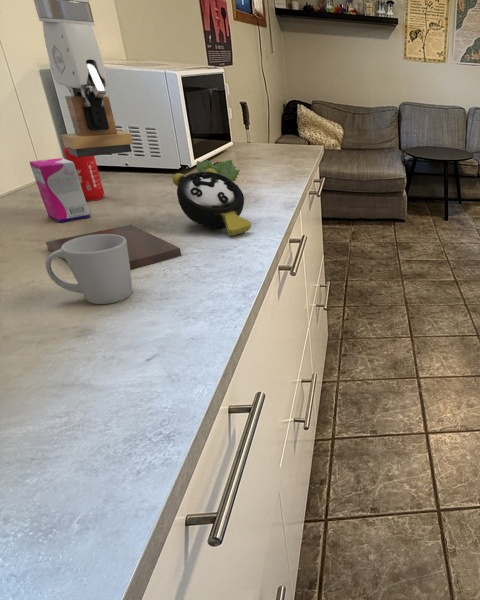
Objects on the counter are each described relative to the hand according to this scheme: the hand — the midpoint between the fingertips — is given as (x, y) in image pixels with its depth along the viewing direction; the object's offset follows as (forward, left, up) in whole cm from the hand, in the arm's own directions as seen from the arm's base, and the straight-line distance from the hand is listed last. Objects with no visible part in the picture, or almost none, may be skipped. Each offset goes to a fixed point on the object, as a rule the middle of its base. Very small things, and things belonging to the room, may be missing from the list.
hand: (95, 127), depth 88 cm
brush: (0, 0, -5) cm, 5 cm away
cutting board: (-7, -14, -19) cm, 25 cm away
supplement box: (-5, +12, -19) cm, 23 cm away
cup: (-16, -30, -19) cm, 39 cm away
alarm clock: (+13, -13, -19) cm, 27 cm away
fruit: (+25, +5, -19) cm, 32 cm away
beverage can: (+4, +23, -19) cm, 30 cm away
